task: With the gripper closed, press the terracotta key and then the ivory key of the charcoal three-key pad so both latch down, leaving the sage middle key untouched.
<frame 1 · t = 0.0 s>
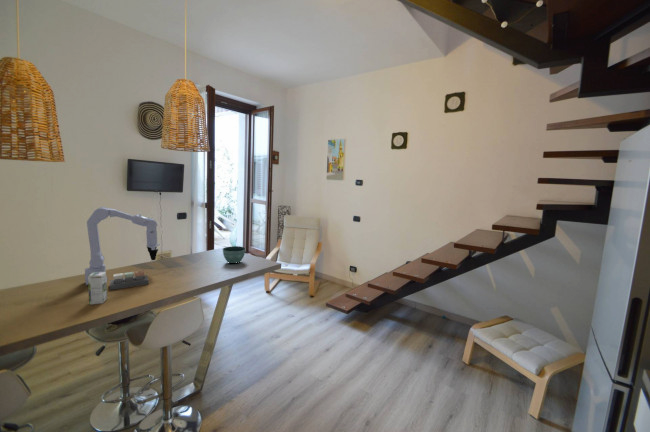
hand: (152, 258, 182), 10 cm above the table, tool pointing down, fingers open, 7 cm apart
syrup box: (98, 302, 140), on the table
ivory key: (118, 278, 161), point 4 cm above the table, slide at 0.0 cm
terracotta key: (139, 275, 166), point 4 cm above the table, slide at 0.0 cm
keypad plate: (129, 284, 164), on the table
sage key: (129, 277, 164), point 4 cm above the table, slide at 0.0 cm
flower pot: (234, 263, 212), on the table
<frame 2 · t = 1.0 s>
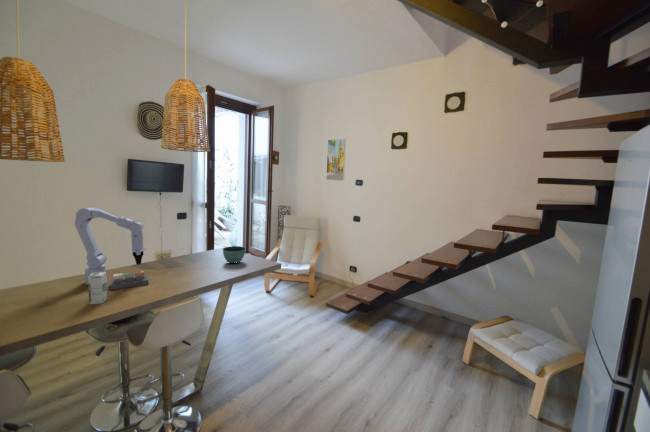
hand: (138, 263, 172), 9 cm above the table, tool pointing down, fingers closed
nothing on the table moved.
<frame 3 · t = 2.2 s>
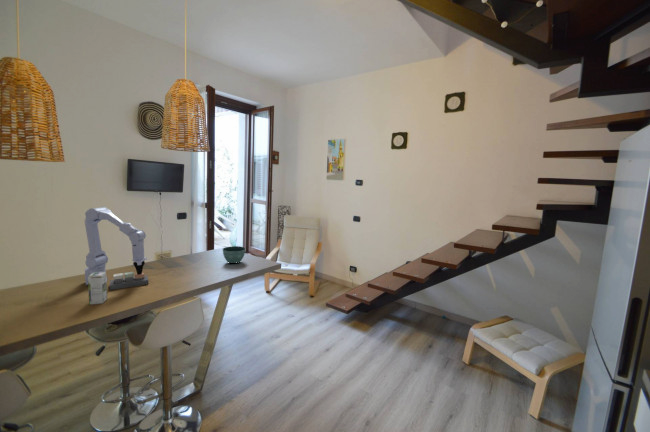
hand: (139, 273, 166), 5 cm above the table, tool pointing down, fingers closed, pressing on terracotta key
terracotta key: (139, 277, 167), point 3 cm above the table, slide at 1.2 cm, touching gripper
everything else where it was.
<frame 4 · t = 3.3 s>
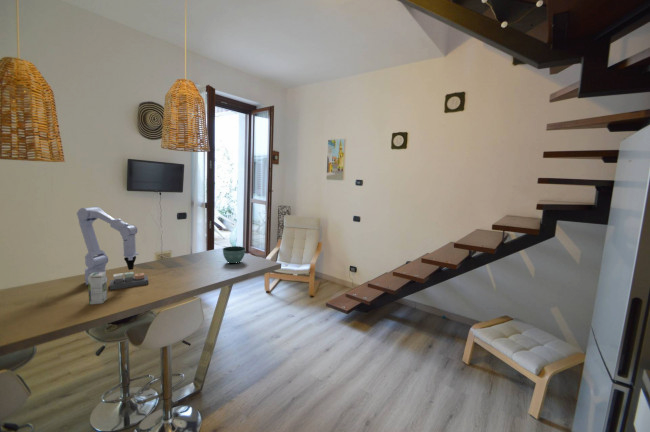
hand: (130, 269, 164), 9 cm above the table, tool pointing down, fingers closed
terracotta key: (139, 278, 167), point 3 cm above the table, slide at 1.6 cm
everything else where it was.
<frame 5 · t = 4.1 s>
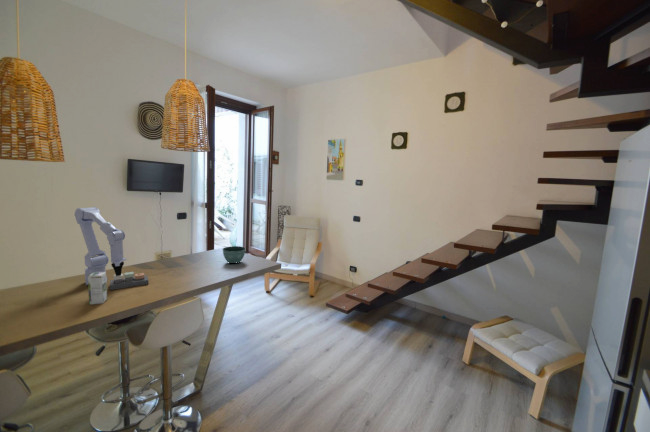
hand: (118, 275, 160), 6 cm above the table, tool pointing down, fingers closed, pressing on ivory key
ivory key: (118, 279, 161), point 4 cm above the table, slide at 0.3 cm, touching gripper
everything else where it was.
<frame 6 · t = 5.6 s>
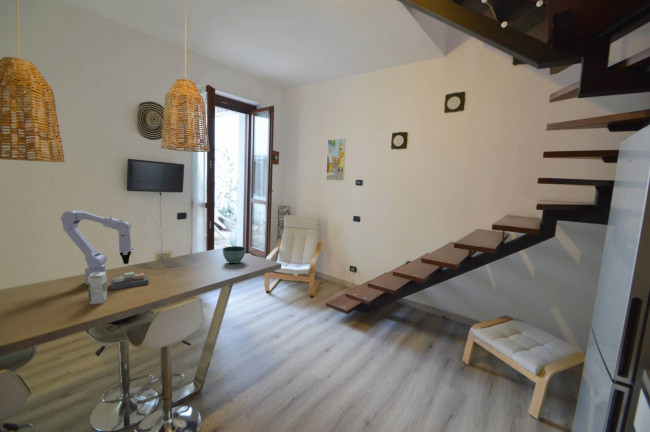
hand: (126, 263, 170), 10 cm above the table, tool pointing down, fingers closed
ivory key: (118, 281, 161), point 3 cm above the table, slide at 1.6 cm
everything else where it was.
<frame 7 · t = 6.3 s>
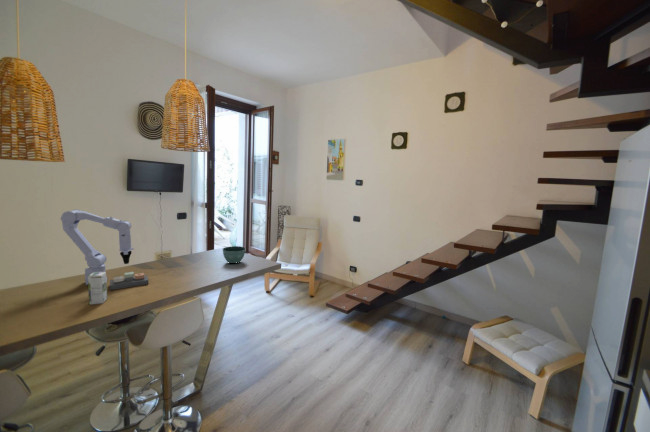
hand: (126, 263, 170), 10 cm above the table, tool pointing down, fingers closed
nothing on the table moved.
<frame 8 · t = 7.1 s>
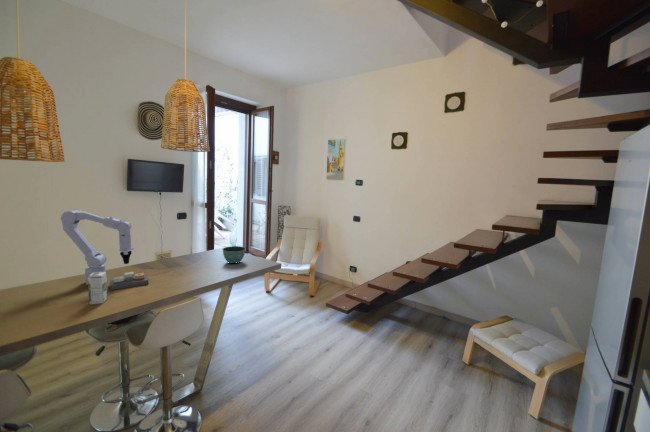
hand: (126, 263, 170), 10 cm above the table, tool pointing down, fingers closed
nothing on the table moved.
at the end: terracotta key slide at 1.6 cm; ivory key slide at 1.6 cm; sage key slide at 0.0 cm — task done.
